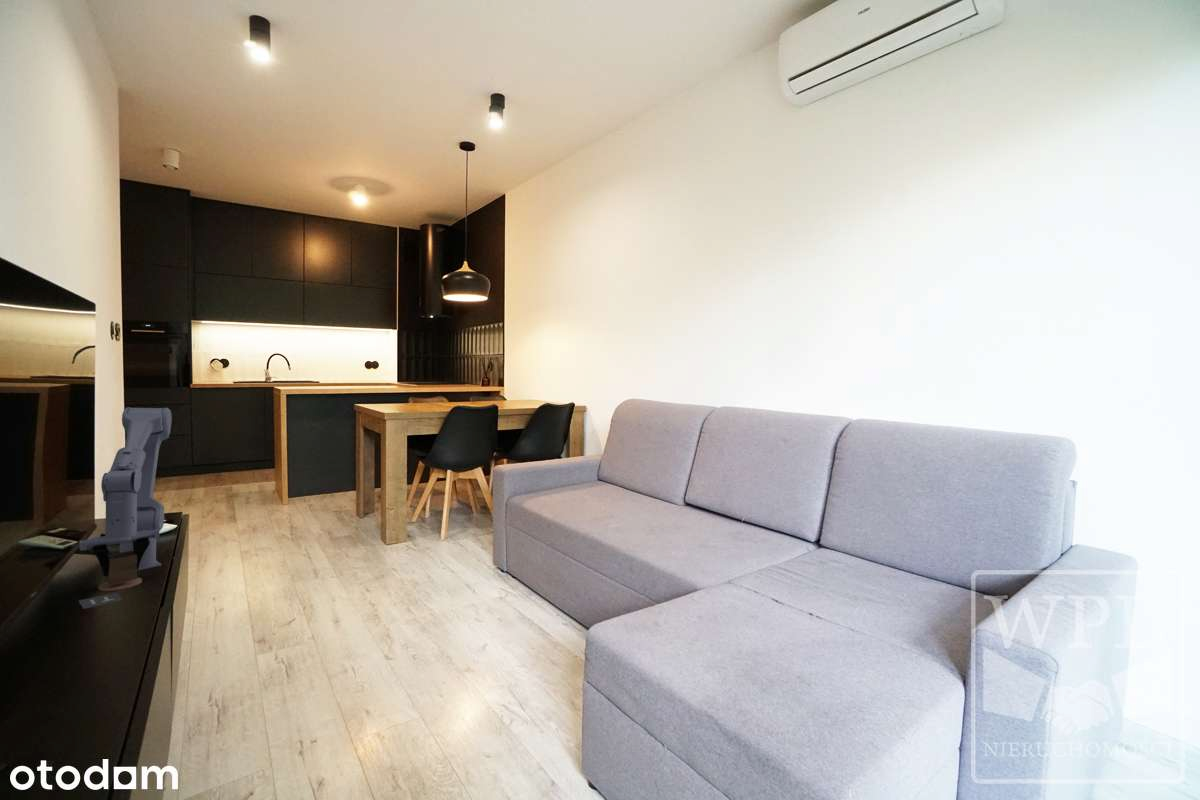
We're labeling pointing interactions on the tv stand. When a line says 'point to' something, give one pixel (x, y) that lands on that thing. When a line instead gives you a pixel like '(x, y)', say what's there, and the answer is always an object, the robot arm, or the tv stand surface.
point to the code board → (99, 600)
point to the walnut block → (121, 567)
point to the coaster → (119, 585)
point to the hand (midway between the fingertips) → (120, 571)
